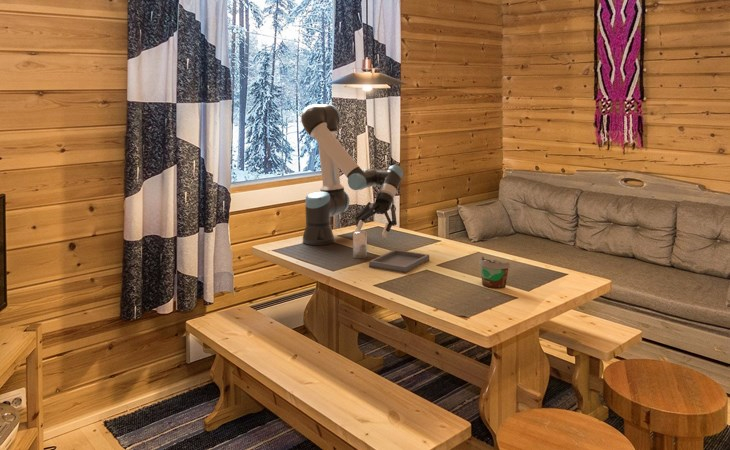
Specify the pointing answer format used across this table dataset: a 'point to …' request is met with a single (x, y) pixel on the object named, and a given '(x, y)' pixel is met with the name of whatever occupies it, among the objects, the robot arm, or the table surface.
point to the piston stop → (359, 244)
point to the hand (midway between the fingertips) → (369, 235)
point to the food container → (494, 273)
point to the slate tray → (399, 261)
